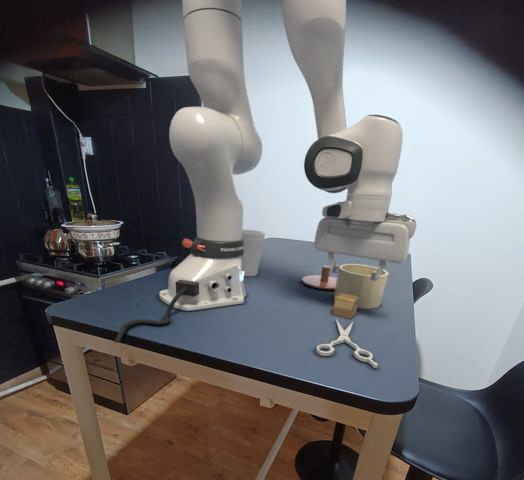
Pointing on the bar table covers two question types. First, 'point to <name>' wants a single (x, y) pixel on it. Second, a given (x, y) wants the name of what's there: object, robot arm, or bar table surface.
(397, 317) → the bar table surface
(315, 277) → the lid
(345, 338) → the scissors
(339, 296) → the block
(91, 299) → the bar table surface
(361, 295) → the pot
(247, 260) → the foam cup
